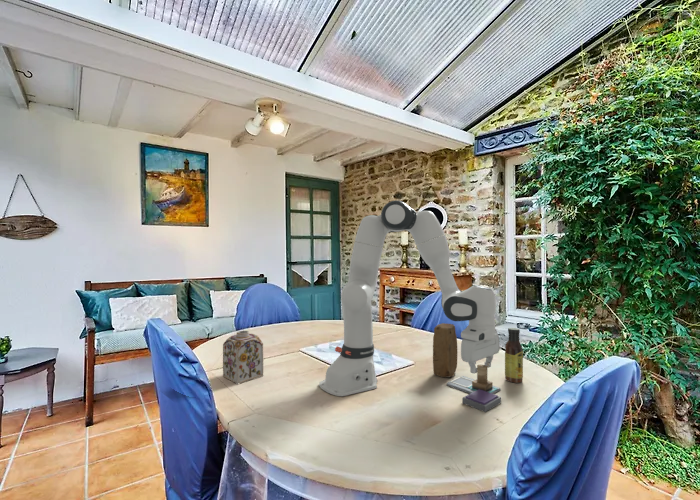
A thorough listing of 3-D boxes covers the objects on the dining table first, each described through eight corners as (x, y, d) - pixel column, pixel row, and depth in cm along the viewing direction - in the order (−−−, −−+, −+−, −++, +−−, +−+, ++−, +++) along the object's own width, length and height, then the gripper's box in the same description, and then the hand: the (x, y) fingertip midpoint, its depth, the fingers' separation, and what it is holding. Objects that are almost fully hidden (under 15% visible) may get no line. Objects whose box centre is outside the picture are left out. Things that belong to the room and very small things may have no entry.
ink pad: (485, 412, 107) (485, 404, 107) (462, 403, 113) (462, 396, 113) (501, 402, 114) (501, 395, 114) (478, 394, 120) (478, 388, 120)
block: (448, 380, 133) (448, 328, 133) (430, 375, 138) (430, 325, 138) (459, 372, 141) (459, 323, 141) (442, 368, 146) (442, 320, 146)
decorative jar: (222, 377, 137) (221, 331, 137) (248, 369, 145) (248, 326, 145) (237, 385, 129) (237, 337, 129) (264, 376, 137) (264, 331, 137)
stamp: (485, 392, 119) (485, 369, 119) (472, 388, 123) (472, 365, 123) (492, 388, 123) (492, 366, 123) (479, 384, 126) (479, 362, 126)
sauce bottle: (521, 385, 128) (522, 331, 128) (503, 381, 131) (503, 329, 131) (523, 379, 133) (523, 328, 133) (506, 376, 137) (506, 326, 136)
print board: (484, 398, 117) (484, 395, 117) (446, 385, 128) (446, 382, 128) (500, 390, 124) (500, 387, 124) (463, 377, 135) (463, 375, 135)
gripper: (488, 325, 132) (487, 361, 132) (457, 333, 119) (457, 373, 119) (504, 328, 127) (503, 366, 127) (474, 337, 114) (473, 379, 114)
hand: (480, 369), depth 123 cm, fingers open, 8 cm apart
